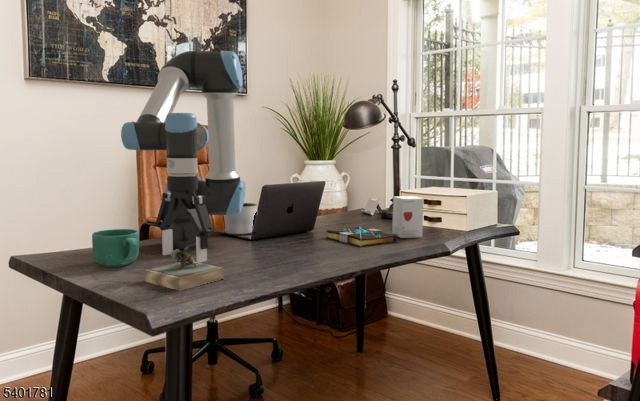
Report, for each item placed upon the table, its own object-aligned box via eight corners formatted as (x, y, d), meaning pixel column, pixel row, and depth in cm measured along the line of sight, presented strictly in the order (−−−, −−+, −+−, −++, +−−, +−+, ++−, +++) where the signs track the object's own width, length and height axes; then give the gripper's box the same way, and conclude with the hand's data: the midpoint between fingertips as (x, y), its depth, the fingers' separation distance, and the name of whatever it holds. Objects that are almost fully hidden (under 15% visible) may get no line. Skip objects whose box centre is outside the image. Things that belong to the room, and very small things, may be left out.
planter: (221, 231, 212) (220, 203, 211) (251, 229, 218) (250, 202, 217) (230, 236, 201) (230, 207, 200) (262, 234, 207) (262, 205, 206)
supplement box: (400, 238, 199) (401, 198, 198) (391, 234, 208) (392, 196, 206) (423, 237, 201) (424, 198, 200) (413, 233, 210) (414, 195, 208)
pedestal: (144, 281, 136) (144, 269, 136) (189, 271, 147) (188, 259, 147) (179, 291, 128) (179, 277, 128) (223, 279, 139) (223, 267, 139)
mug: (86, 264, 155) (84, 231, 154) (127, 257, 164) (126, 227, 163) (110, 274, 144) (108, 239, 142) (153, 267, 152) (152, 234, 151)
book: (398, 243, 192) (398, 229, 191) (361, 248, 182) (361, 234, 182) (360, 234, 209) (360, 222, 209) (324, 239, 200) (325, 225, 199)
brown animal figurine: (202, 266, 135) (213, 252, 143) (185, 243, 133) (197, 231, 142) (179, 280, 137) (192, 266, 145) (162, 258, 135) (176, 245, 144)
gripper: (140, 173, 139) (142, 253, 142) (203, 178, 124) (205, 267, 127) (164, 172, 145) (166, 249, 148) (227, 176, 130) (228, 262, 133)
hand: (184, 257), depth 137 cm, fingers open, 13 cm apart
